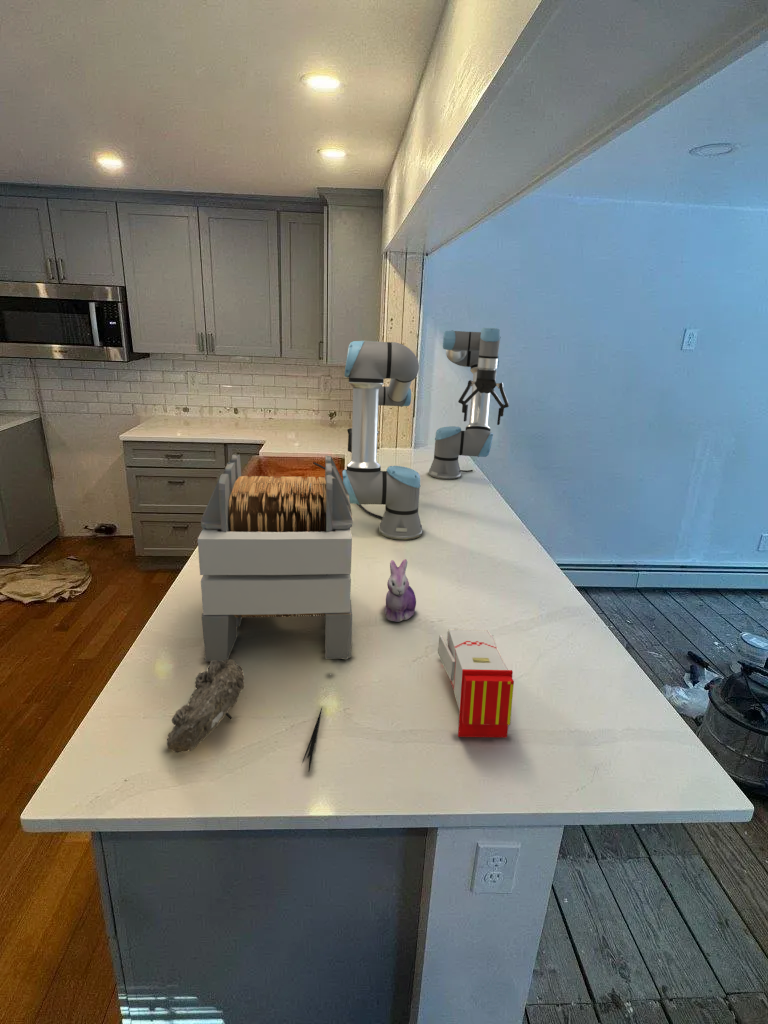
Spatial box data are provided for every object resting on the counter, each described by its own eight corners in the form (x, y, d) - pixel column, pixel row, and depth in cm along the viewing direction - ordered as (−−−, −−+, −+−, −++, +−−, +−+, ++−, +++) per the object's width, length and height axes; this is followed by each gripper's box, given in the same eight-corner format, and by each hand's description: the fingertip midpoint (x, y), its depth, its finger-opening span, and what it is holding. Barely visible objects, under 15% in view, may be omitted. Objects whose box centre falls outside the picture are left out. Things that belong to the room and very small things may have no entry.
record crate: (225, 590, 155) (217, 445, 141) (345, 589, 159) (348, 447, 145) (202, 664, 123) (188, 485, 110) (352, 660, 127) (356, 487, 113)
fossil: (192, 660, 117) (244, 628, 112) (224, 691, 120) (276, 661, 115) (142, 746, 98) (202, 712, 93) (182, 779, 101) (242, 748, 96)
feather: (331, 679, 122) (336, 673, 122) (307, 777, 96) (313, 769, 95) (324, 675, 122) (329, 669, 121) (298, 772, 95) (304, 764, 95)
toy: (488, 613, 130) (523, 677, 101) (484, 667, 133) (517, 744, 104) (435, 612, 130) (455, 676, 101) (432, 666, 133) (451, 743, 103)
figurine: (392, 627, 141) (395, 572, 136) (374, 608, 149) (376, 556, 144) (425, 619, 145) (429, 566, 140) (405, 601, 154) (408, 550, 149)
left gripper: (386, 415, 238) (384, 469, 246) (346, 411, 243) (345, 464, 251) (381, 418, 231) (379, 473, 239) (339, 414, 237) (339, 468, 244)
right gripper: (520, 370, 223) (513, 424, 231) (457, 366, 230) (453, 418, 237) (518, 372, 217) (511, 427, 224) (454, 367, 224) (449, 421, 231)
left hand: (361, 468), depth 245 cm, fingers closed on pill bottle, 5 cm apart
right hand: (481, 422), depth 231 cm, fingers open, 13 cm apart
